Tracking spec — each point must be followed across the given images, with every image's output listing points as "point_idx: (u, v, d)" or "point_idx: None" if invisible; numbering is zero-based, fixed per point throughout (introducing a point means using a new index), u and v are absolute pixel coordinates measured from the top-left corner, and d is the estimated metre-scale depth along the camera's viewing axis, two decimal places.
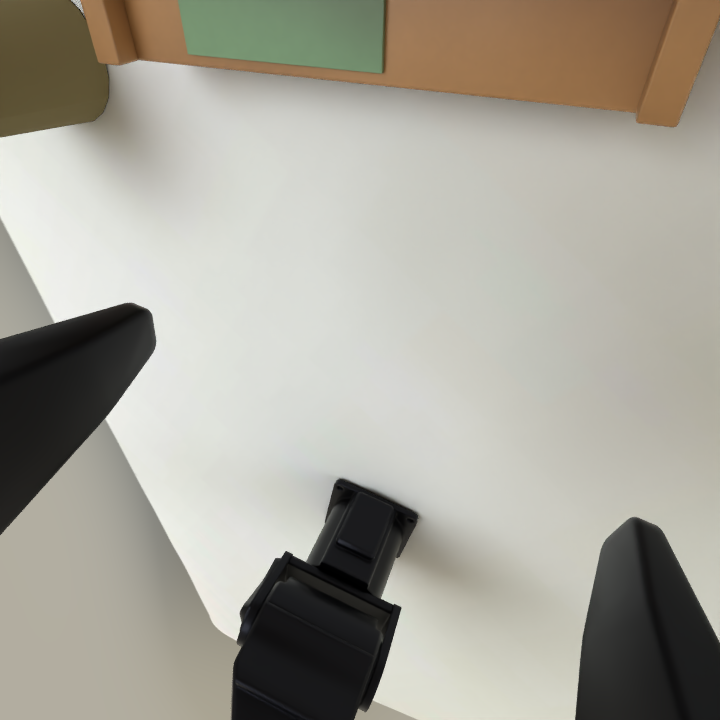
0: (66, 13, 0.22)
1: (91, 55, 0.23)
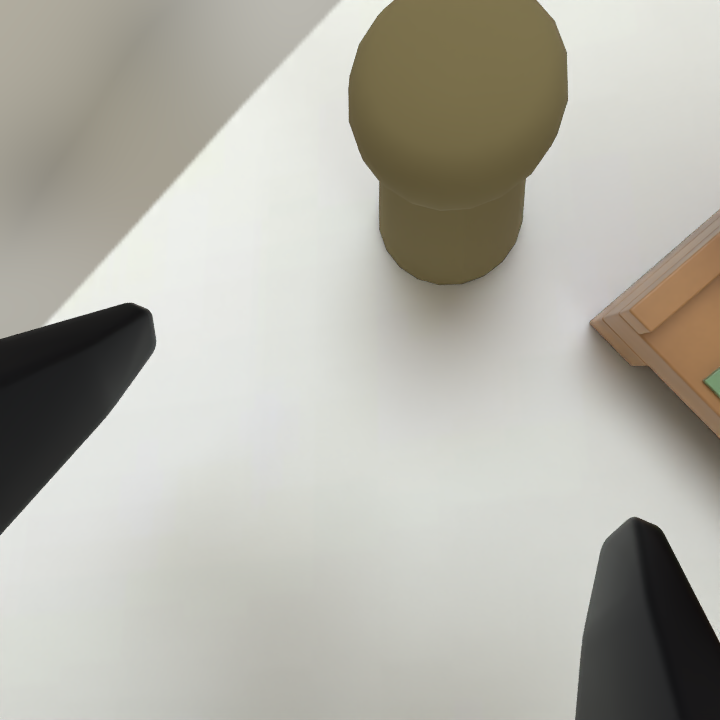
0: (522, 217, 0.20)
1: (504, 255, 0.21)
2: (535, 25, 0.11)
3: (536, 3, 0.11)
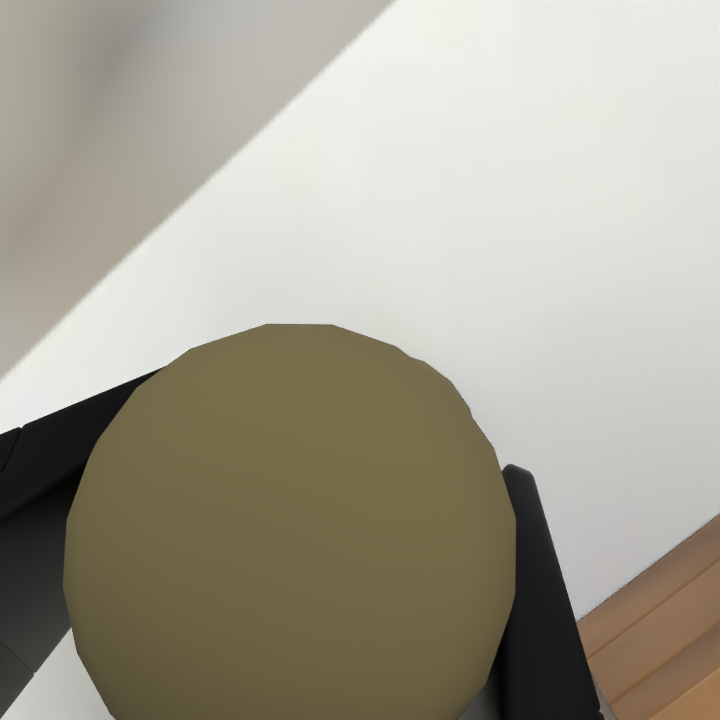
0: None
1: None
2: (434, 523, 0.05)
3: (442, 455, 0.05)
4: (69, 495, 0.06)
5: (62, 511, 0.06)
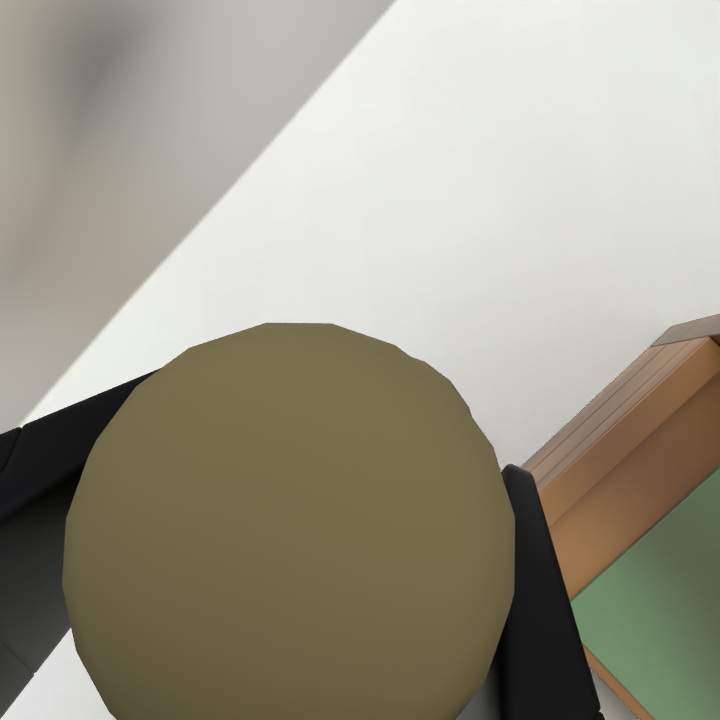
0: None
1: None
2: (433, 521, 0.05)
3: (441, 453, 0.05)
4: (69, 495, 0.06)
5: (62, 511, 0.06)
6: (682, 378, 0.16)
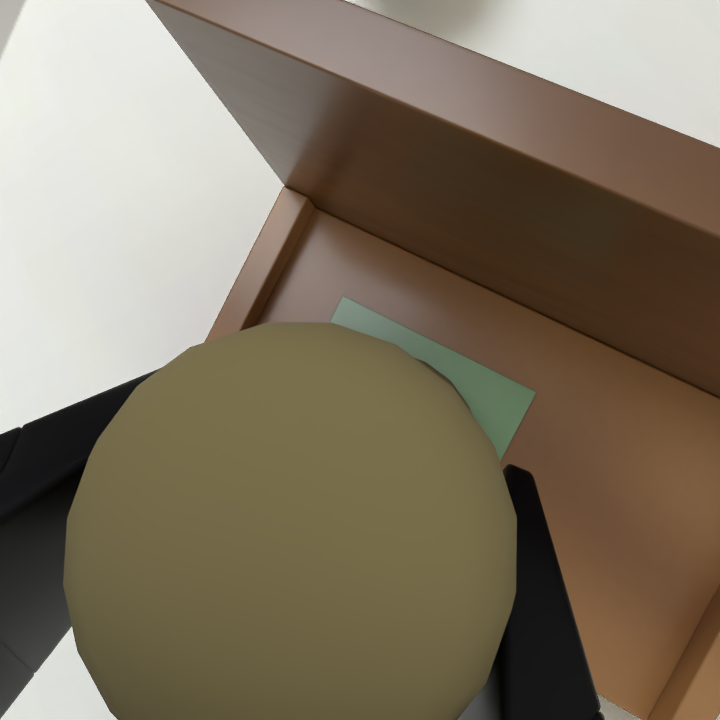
0: None
1: None
2: (435, 521, 0.05)
3: (443, 453, 0.05)
4: (69, 495, 0.06)
5: (62, 511, 0.06)
6: (273, 229, 0.17)
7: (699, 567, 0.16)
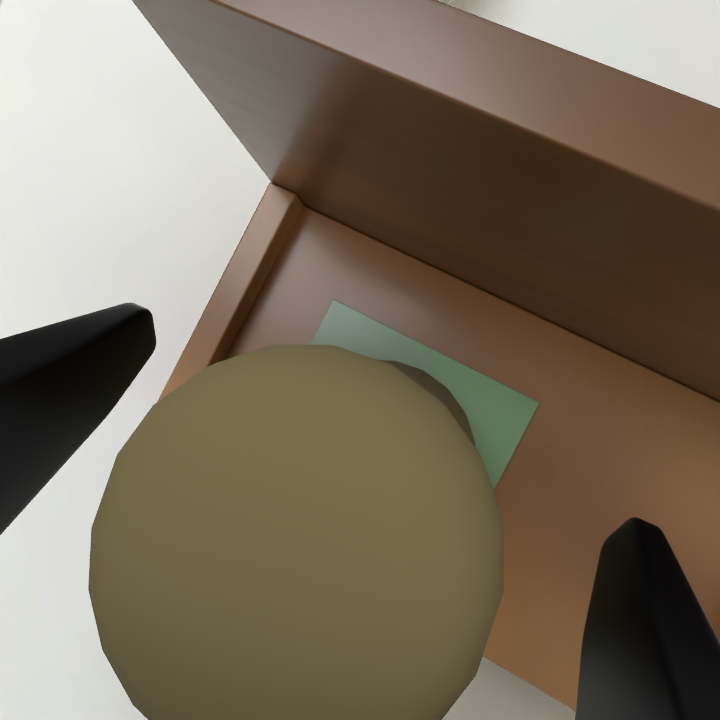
0: None
1: None
2: (426, 528, 0.05)
3: (434, 466, 0.05)
4: None
5: None
6: (259, 228, 0.16)
7: (715, 592, 0.14)
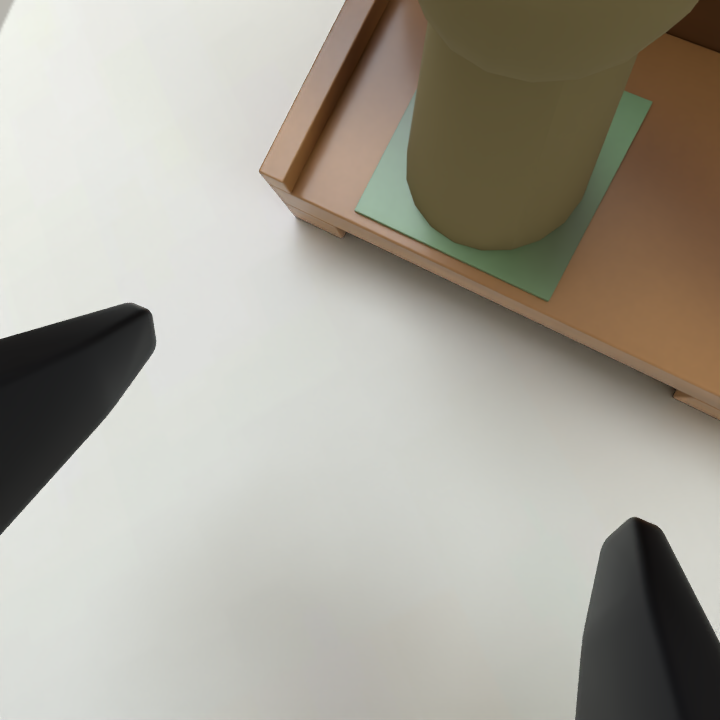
0: None
1: (569, 212, 0.16)
2: None
3: None
4: None
5: None
6: None
7: None
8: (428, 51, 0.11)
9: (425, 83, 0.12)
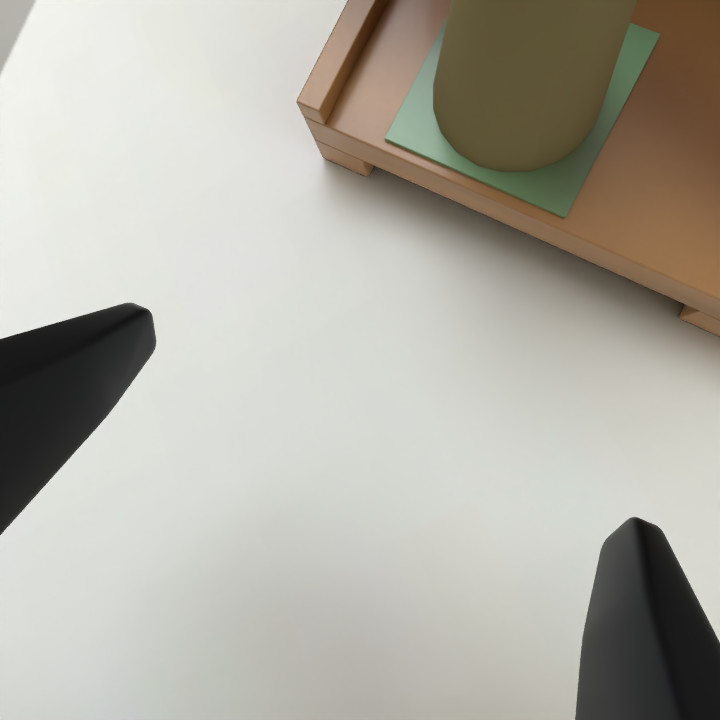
0: None
1: (584, 133, 0.17)
2: None
3: None
4: None
5: None
6: None
7: None
8: None
9: None
